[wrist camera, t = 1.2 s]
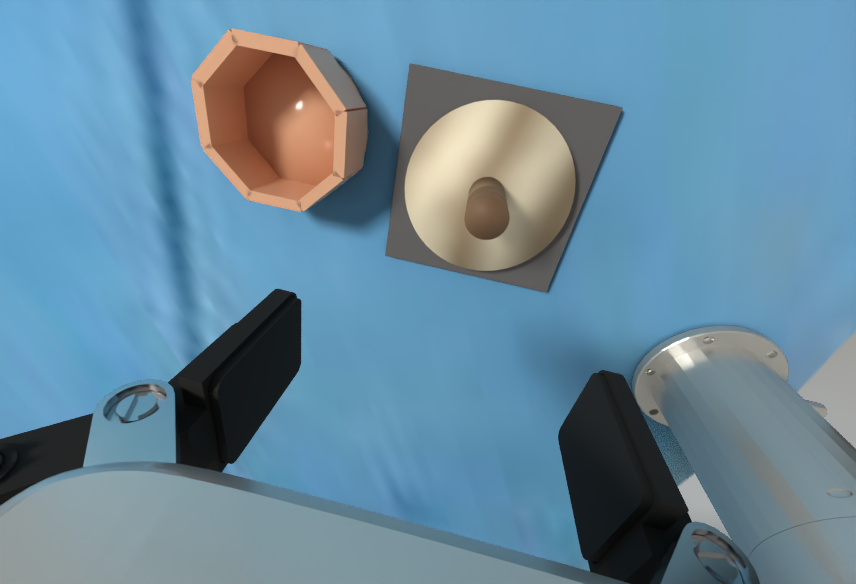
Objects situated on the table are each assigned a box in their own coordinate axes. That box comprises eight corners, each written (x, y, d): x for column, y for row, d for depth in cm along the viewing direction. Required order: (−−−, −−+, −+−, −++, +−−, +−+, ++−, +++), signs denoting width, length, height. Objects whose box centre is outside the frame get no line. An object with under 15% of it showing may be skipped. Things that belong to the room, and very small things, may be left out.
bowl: (374, 59, 25) (349, 52, 21) (363, 202, 30) (341, 221, 26) (234, 30, 25) (181, 18, 21) (248, 176, 31) (208, 191, 26)
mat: (619, 107, 24) (622, 107, 24) (545, 289, 32) (546, 292, 31) (411, 64, 25) (409, 63, 24) (387, 252, 32) (385, 255, 32)
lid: (601, 120, 24) (640, 128, 18) (538, 280, 31) (551, 324, 25) (421, 82, 25) (400, 78, 19) (397, 248, 31) (376, 284, 25)
